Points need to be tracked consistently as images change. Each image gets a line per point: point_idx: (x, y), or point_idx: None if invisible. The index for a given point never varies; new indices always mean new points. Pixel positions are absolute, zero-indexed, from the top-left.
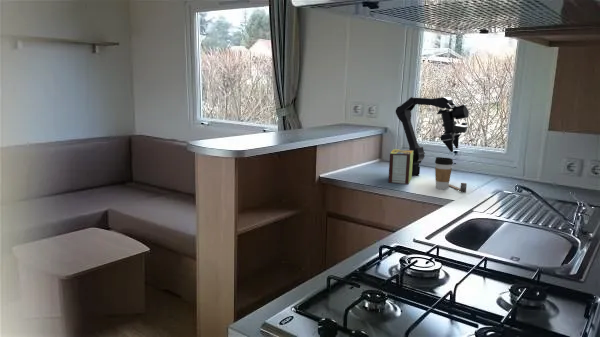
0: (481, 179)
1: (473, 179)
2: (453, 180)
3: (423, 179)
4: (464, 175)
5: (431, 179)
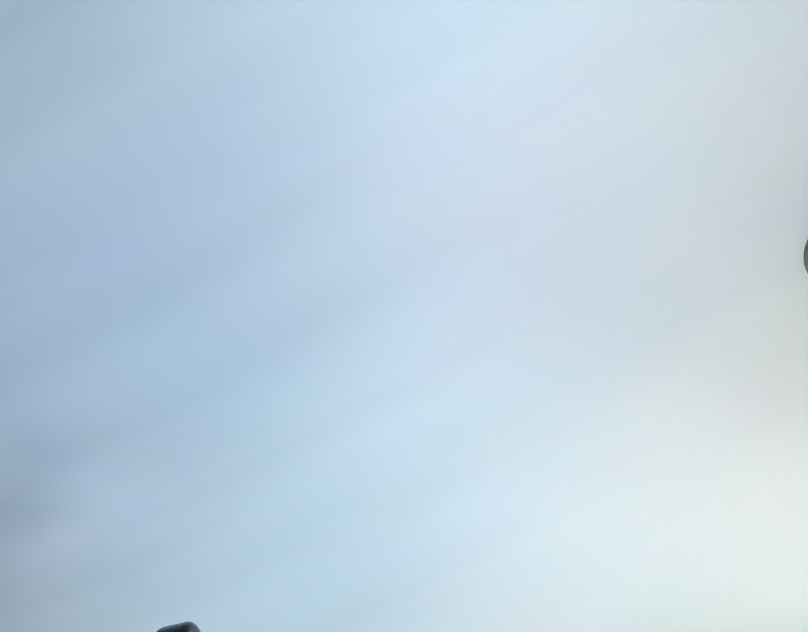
0: (42, 25)
1: (153, 110)
2: (483, 275)
3: (768, 582)
4: (12, 348)
5: (678, 513)
